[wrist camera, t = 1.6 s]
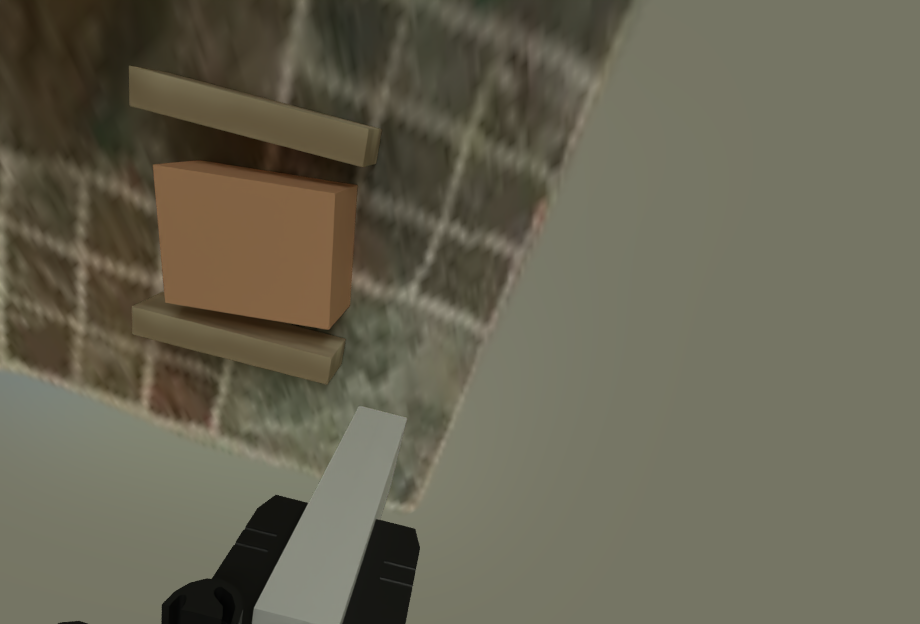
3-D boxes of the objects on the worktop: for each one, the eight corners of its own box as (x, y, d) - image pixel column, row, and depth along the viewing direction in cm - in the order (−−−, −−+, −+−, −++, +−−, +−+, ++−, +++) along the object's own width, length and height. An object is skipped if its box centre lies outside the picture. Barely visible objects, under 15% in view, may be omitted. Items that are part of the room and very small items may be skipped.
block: (201, 159, 30) (152, 164, 26) (358, 184, 30) (335, 193, 25) (208, 280, 33) (165, 302, 29) (351, 304, 32) (328, 329, 28)
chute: (166, 71, 28) (129, 65, 25) (382, 129, 28) (369, 128, 25) (162, 317, 34) (132, 334, 31) (341, 363, 34) (327, 384, 31)
